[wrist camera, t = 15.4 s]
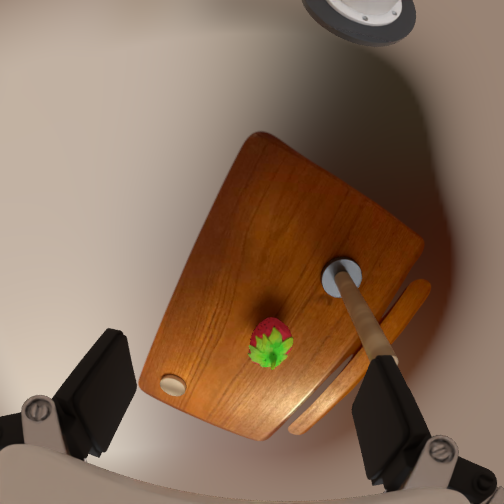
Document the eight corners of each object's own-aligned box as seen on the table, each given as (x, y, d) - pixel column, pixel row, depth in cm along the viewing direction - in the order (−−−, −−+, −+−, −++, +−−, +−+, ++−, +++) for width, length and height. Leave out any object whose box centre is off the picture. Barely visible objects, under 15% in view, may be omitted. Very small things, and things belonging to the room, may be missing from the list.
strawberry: (300, 316, 43) (307, 357, 34) (272, 348, 46) (272, 391, 36) (269, 297, 43) (268, 337, 33) (242, 331, 45) (235, 373, 35)
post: (324, 254, 40) (365, 338, 21) (363, 258, 40) (425, 337, 21) (317, 293, 42) (346, 390, 23) (355, 295, 42) (402, 387, 23)
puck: (160, 372, 49) (158, 375, 48) (185, 377, 49) (184, 380, 48) (163, 390, 51) (161, 393, 50) (187, 394, 51) (186, 398, 50)
